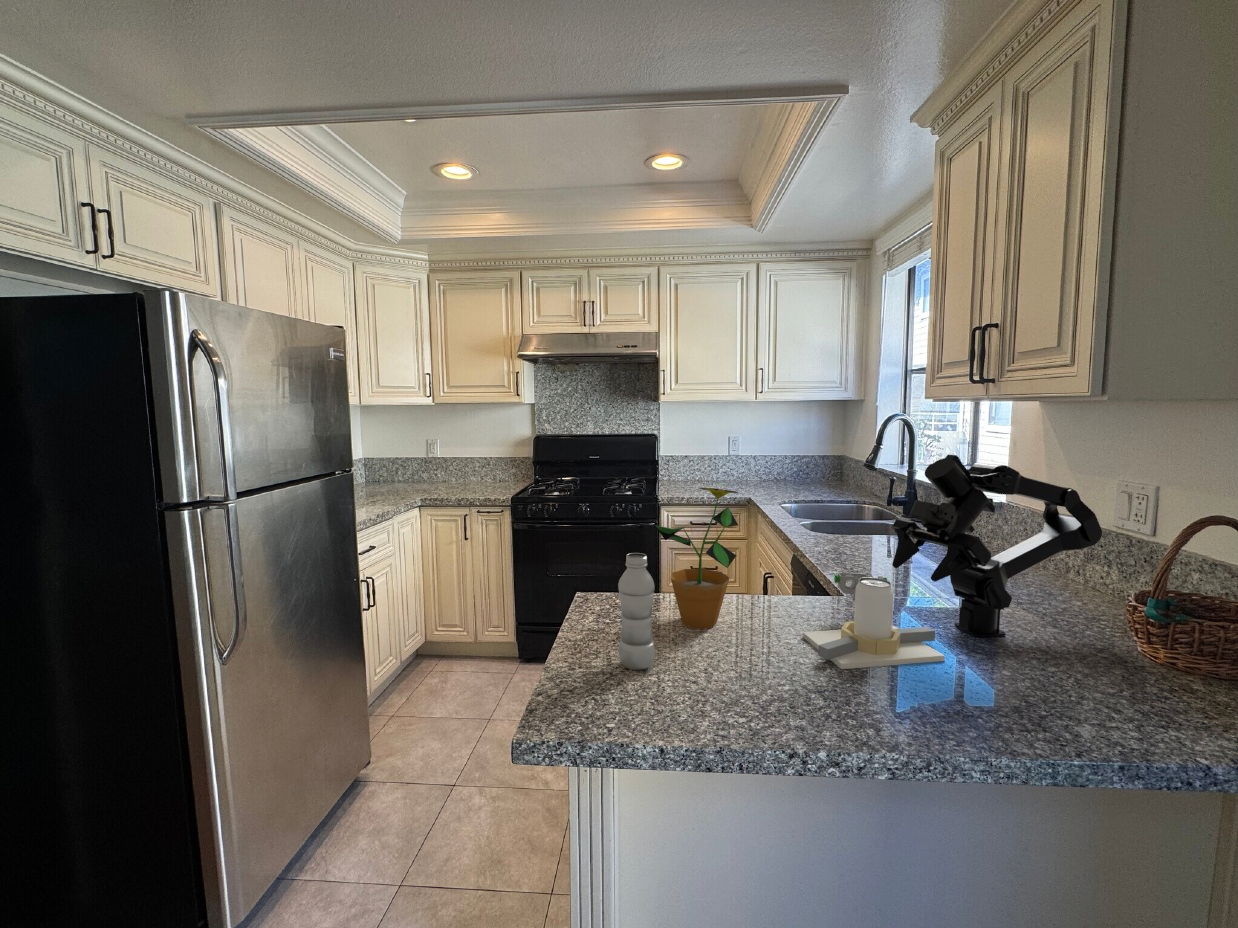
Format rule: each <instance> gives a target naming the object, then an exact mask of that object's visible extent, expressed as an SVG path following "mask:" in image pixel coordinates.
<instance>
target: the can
mask: <svg viewBox="0 0 1238 928" xmlns="http://www.w3.org/2000/svg"><path fill="white" fill-rule="evenodd" d="M858 581H859V583H858V584H857V586H856V591H855V601H854V613H853V614H854V617H853V621H854V634H855V635H857V636H861V637H866V638H870V639H875V640H878V639H891V635H892V626H893V613H894V612H893V611H894V591H893V588H892V582H891V581H889V580H888V579H887V580H884V579H879V578H878V577H871V576H870V577H869V576H868V577H865V578H860V579H859V580H858Z"/></svg>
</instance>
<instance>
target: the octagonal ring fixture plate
mask: <svg viewBox="0 0 1238 928" xmlns="http://www.w3.org/2000/svg"><path fill="white" fill-rule="evenodd" d="M802 638H804V639H805V640H806V641H807V642H808V643H809V644H811V646H813V647H814V648H815V649H816V650H817V651H818V657H820V658H823V659H824V660H826V661H831V662H832V663H833V664H834V665H835V666H837V667H838V668H839V669H840V670H849V669H860V668H861V669H862V668H872V667H886V666H887V667H888V666H898V665H911V664H912V665H913V664H922V663H923V664H924V663H934V662H935V663H937V662H945V655H944V654H943V653H941V652H939V651H938V650H936V649H934V648H933V647H931V646H929V645H927V644H925V643H924V642H935V640H936V630H934V629H932V628H931V627H929V626H921V627H920V626H919V627H917V626H916V627H905V628H900V627H897V626H895V625H892V635H891V639H878V640H875V639H870V638H866V637H861V636H857V635H855V634H854V620H852V621H851V620H850V621H845V623H844V624H843V625H842V626H841V629H830V630H828V629H827V630H818V631H817V630H814V631H803V632H802Z"/></svg>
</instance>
